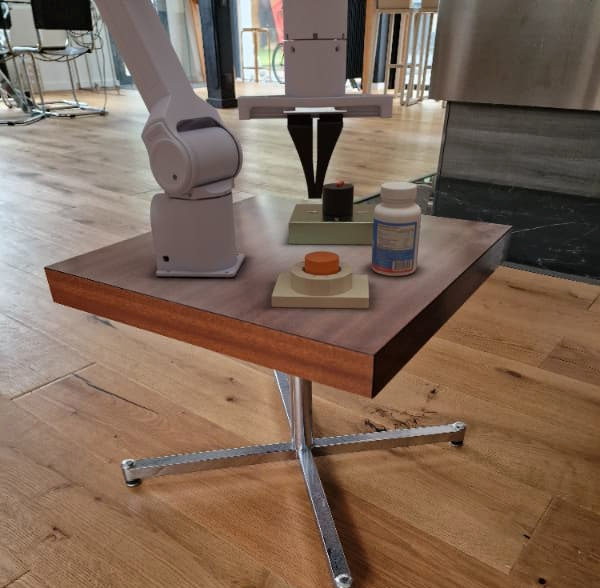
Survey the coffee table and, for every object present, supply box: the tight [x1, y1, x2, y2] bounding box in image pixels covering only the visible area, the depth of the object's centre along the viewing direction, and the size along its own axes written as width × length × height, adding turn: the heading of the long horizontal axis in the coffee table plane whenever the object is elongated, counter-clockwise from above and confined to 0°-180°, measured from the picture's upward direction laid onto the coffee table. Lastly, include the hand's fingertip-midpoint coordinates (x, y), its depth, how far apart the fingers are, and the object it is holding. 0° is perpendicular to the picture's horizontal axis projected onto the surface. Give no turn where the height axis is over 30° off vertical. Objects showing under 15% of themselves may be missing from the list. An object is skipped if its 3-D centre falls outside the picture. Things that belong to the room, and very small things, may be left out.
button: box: [304, 250, 340, 275], centre depth 60 cm, size 4×4×2 cm
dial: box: [321, 180, 355, 216], centre depth 80 cm, size 4×4×4 cm
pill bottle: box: [371, 181, 422, 277], centre depth 66 cm, size 6×5×10 cm
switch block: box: [271, 260, 370, 309], centre depth 61 cm, size 10×7×3 cm
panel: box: [288, 203, 379, 246], centre depth 82 cm, size 13×11×3 cm
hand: (315, 196), depth 59 cm, fingers closed
